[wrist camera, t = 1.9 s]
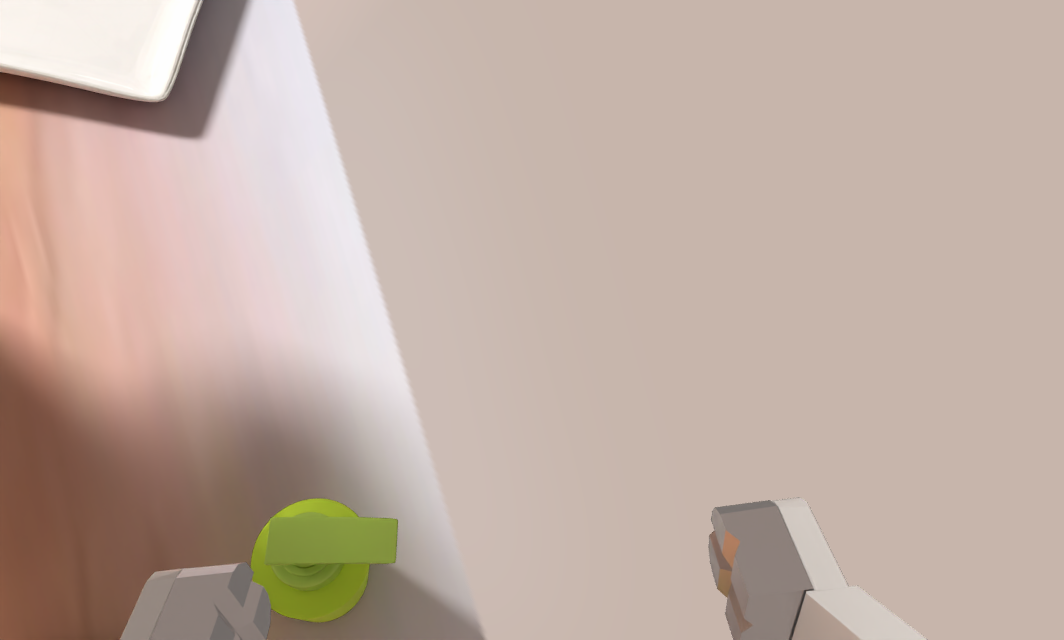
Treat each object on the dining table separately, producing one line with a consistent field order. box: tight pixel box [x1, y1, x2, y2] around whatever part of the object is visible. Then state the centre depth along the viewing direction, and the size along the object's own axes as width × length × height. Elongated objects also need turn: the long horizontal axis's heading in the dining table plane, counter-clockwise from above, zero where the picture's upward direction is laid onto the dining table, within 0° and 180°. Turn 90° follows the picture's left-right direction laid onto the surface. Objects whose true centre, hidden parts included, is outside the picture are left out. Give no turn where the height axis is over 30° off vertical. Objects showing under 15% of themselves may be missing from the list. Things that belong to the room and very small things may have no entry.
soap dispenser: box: [251, 498, 398, 622], centre depth 36 cm, size 6×7×20 cm
